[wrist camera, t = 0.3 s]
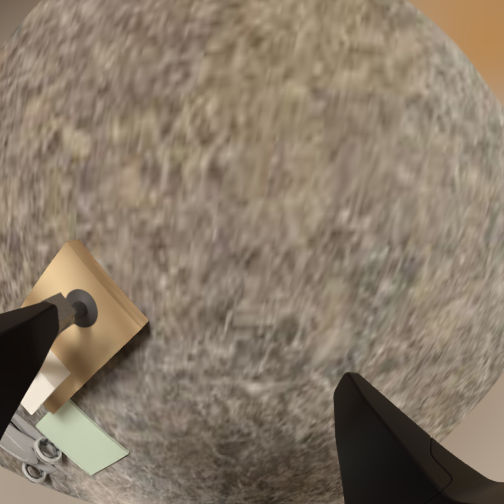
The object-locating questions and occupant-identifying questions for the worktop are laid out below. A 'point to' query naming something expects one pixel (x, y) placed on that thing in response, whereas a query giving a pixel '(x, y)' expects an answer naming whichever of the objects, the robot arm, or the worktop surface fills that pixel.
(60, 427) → the pad
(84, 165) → the worktop surface
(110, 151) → the worktop surface
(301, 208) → the worktop surface
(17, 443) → the car model
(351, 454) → the robot arm
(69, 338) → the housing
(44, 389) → the cover
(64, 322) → the lever handle
